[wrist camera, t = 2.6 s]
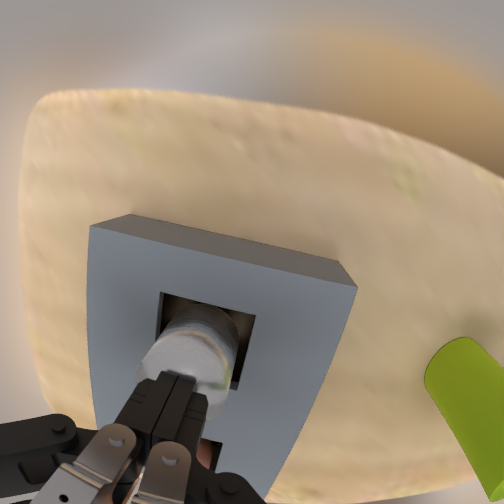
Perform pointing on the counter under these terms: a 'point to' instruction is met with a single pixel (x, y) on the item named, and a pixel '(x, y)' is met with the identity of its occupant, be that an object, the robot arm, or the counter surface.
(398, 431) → the counter surface
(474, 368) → the soap dispenser
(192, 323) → the steel plug
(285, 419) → the plug board
